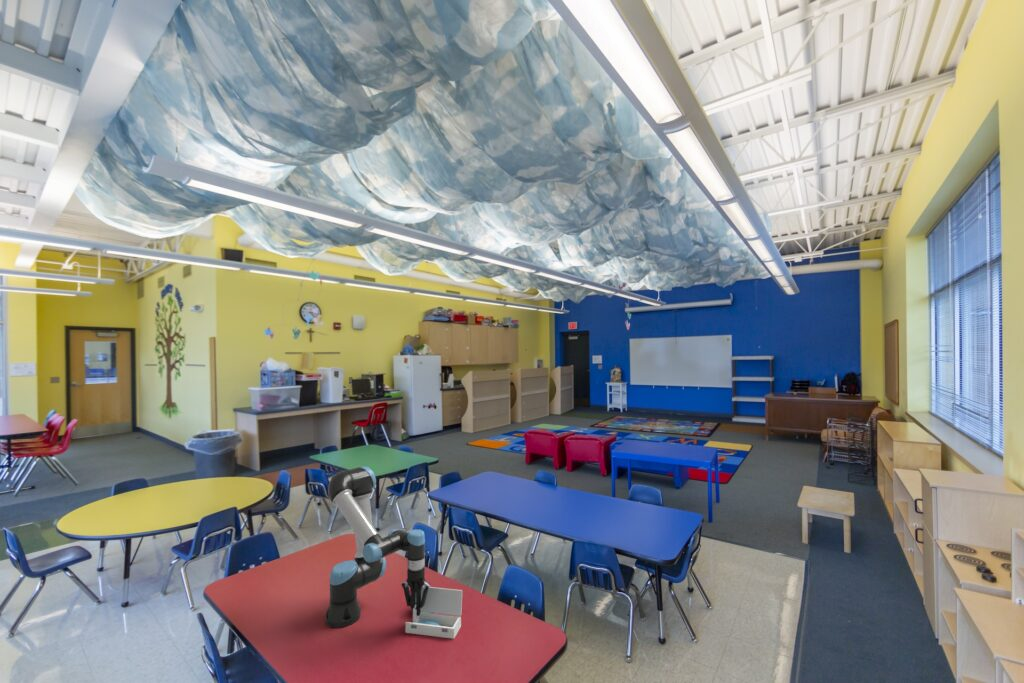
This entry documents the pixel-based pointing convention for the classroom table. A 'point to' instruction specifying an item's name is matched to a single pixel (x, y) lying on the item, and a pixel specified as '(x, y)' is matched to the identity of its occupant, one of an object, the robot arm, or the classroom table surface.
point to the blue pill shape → (429, 622)
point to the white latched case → (435, 629)
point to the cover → (442, 601)
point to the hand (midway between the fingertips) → (415, 622)
